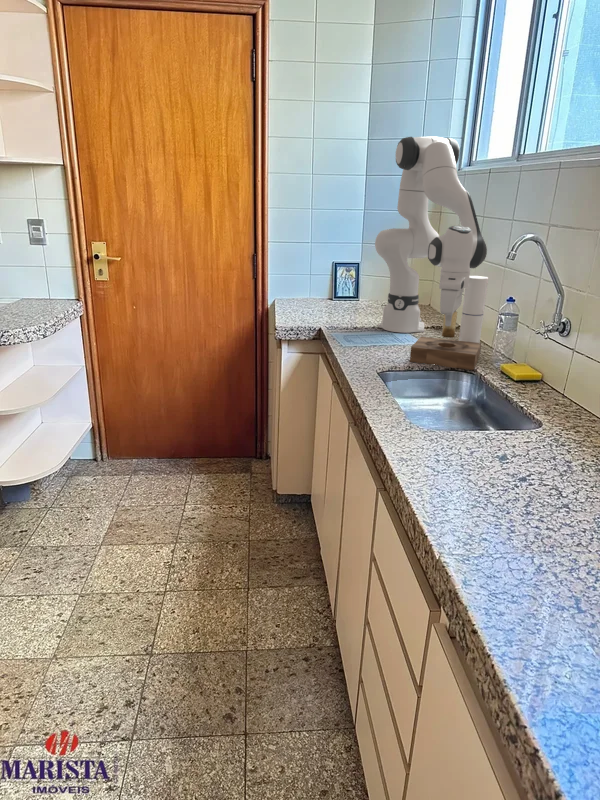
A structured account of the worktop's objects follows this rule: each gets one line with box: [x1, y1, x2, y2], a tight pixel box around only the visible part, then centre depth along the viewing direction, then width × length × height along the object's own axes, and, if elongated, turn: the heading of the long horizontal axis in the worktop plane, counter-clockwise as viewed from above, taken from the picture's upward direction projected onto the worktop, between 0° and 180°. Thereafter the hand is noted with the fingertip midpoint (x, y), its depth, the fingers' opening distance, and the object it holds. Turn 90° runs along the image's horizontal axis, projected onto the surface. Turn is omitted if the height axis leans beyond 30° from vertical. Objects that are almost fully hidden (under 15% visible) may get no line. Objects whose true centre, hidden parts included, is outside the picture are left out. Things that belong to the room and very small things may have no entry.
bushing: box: [441, 310, 458, 338], centre depth 177 cm, size 4×4×8 cm
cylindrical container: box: [458, 275, 489, 343], centre depth 192 cm, size 7×7×25 cm
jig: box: [409, 336, 482, 371], centre depth 181 cm, size 16×20×5 cm
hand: (449, 324), depth 177 cm, fingers closed on bushing, 4 cm apart
